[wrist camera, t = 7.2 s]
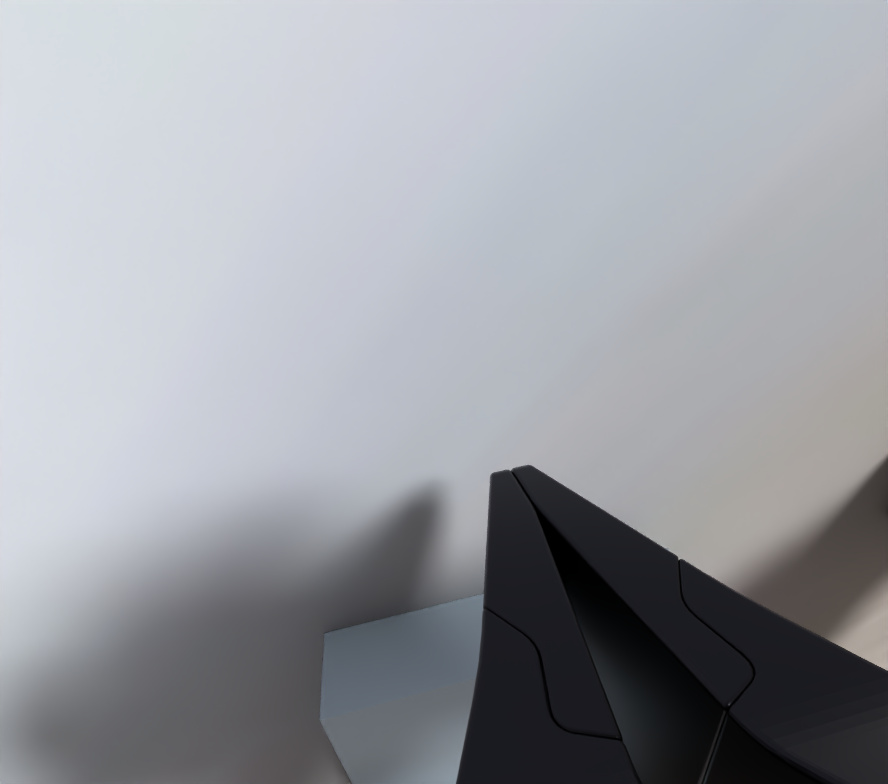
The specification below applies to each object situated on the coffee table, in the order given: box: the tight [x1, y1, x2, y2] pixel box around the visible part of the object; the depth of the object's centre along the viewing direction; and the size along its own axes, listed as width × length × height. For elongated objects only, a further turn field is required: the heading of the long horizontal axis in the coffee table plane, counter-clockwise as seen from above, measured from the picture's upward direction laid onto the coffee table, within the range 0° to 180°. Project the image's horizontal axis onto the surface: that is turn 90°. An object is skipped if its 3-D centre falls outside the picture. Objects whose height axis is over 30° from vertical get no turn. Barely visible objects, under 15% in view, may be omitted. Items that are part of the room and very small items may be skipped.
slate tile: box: [319, 548, 669, 784], centre depth 18 cm, size 12×18×3 cm, turn 8°
